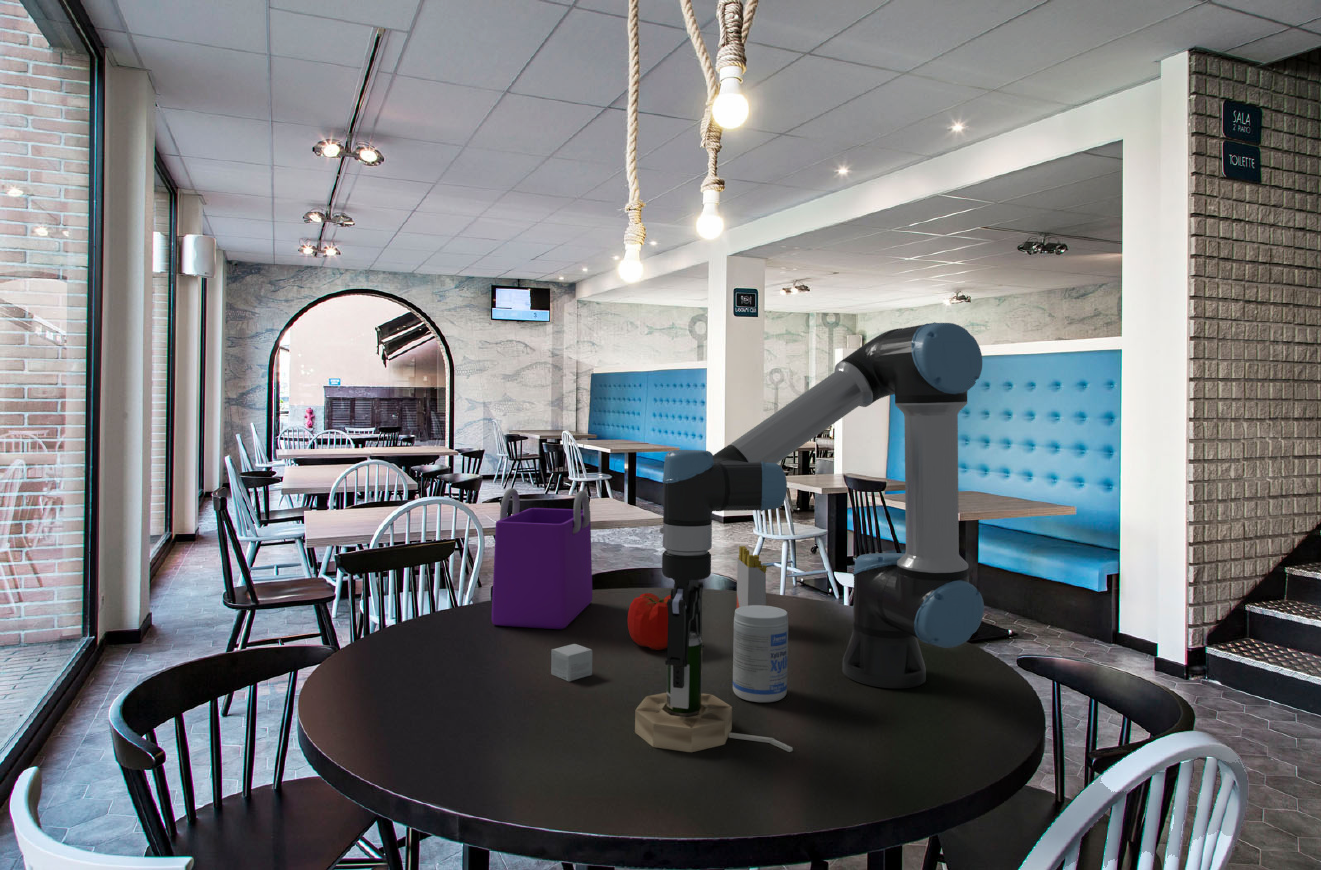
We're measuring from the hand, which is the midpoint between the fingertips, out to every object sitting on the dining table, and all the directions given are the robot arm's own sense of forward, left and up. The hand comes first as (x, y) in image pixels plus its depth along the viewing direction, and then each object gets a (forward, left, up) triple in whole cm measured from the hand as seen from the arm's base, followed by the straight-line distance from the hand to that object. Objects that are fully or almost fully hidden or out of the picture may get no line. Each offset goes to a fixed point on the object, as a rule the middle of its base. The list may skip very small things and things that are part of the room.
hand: (684, 699), depth 120 cm
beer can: (0, 0, -2) cm, 2 cm away
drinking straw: (-12, +1, -5) cm, 13 cm away
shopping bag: (+48, -55, -5) cm, 73 cm away
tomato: (+15, -40, -5) cm, 43 cm away
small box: (+26, -18, -5) cm, 32 cm away
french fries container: (-1, -60, -5) cm, 60 cm away
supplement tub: (-9, -19, -5) cm, 22 cm away
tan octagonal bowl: (0, 0, -5) cm, 5 cm away
